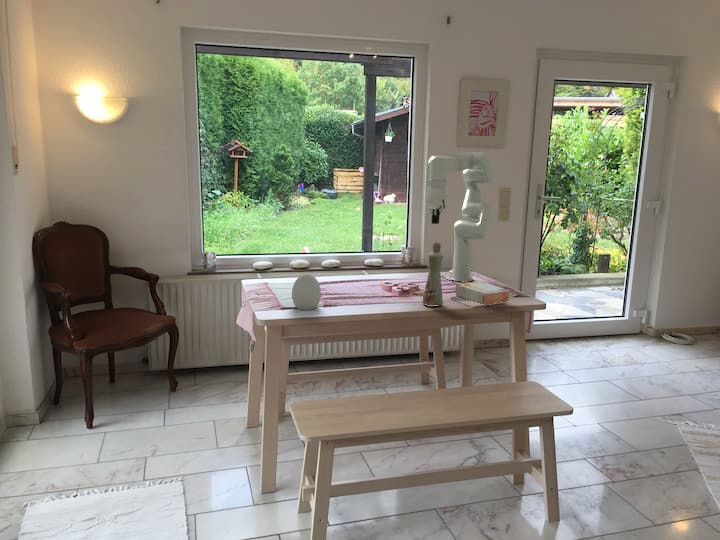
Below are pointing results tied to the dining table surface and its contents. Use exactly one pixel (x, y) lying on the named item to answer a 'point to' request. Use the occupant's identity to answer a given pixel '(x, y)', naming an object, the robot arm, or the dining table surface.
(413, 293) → the turner
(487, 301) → the cracker box
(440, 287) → the bottle
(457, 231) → the robot arm
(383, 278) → the dining table surface
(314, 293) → the decorative egg
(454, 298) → the mat
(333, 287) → the dining table surface
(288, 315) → the dining table surface
